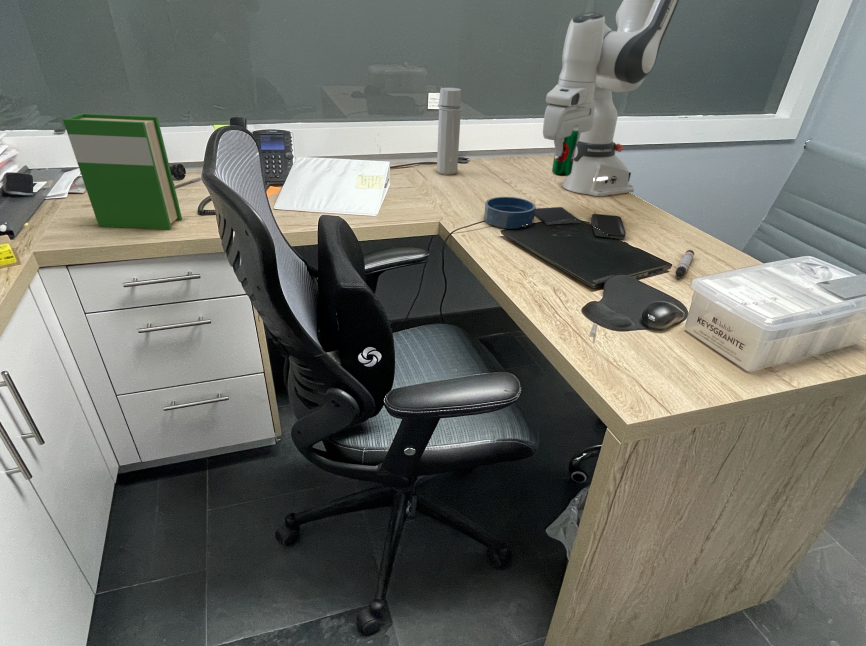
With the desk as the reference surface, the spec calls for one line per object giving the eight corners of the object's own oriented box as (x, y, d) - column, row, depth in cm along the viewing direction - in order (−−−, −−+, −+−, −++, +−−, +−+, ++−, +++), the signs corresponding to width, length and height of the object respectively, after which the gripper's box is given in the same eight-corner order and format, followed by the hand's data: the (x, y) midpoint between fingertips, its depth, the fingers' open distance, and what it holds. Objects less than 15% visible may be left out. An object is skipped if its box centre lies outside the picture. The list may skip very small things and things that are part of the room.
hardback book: (182, 219, 139) (157, 116, 124) (170, 229, 133) (142, 122, 118) (114, 216, 139) (81, 113, 125) (98, 226, 133) (62, 119, 119)
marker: (684, 256, 128) (686, 248, 127) (692, 258, 128) (695, 250, 127) (672, 280, 118) (674, 271, 116) (681, 282, 117) (684, 273, 116)
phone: (620, 216, 147) (626, 235, 135) (619, 220, 148) (625, 239, 136) (591, 213, 148) (594, 232, 136) (590, 217, 149) (593, 236, 137)
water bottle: (433, 170, 184) (435, 87, 170) (455, 169, 186) (459, 87, 171) (439, 177, 177) (443, 91, 163) (462, 176, 179) (468, 91, 164)
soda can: (572, 177, 140) (582, 127, 133) (553, 176, 140) (561, 126, 133) (568, 172, 144) (577, 123, 137) (550, 171, 144) (558, 122, 137)
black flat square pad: (561, 209, 155) (561, 206, 154) (580, 223, 145) (581, 221, 145) (528, 210, 153) (529, 208, 152) (546, 225, 143) (547, 223, 143)
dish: (521, 211, 152) (523, 195, 149) (541, 228, 141) (543, 211, 139) (477, 214, 149) (478, 198, 146) (493, 231, 138) (495, 214, 136)
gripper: (582, 88, 139) (572, 145, 147) (542, 95, 126) (533, 157, 134) (605, 91, 136) (593, 149, 144) (566, 99, 123) (556, 162, 131)
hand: (564, 153), depth 139 cm, fingers closed on soda can, 5 cm apart
